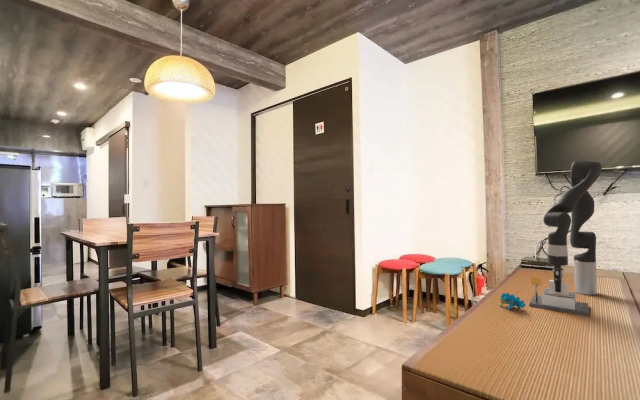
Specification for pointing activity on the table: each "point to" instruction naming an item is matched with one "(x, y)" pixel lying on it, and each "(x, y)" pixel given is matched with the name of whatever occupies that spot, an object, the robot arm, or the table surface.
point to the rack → (557, 301)
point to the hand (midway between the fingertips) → (558, 290)
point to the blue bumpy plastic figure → (511, 301)
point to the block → (563, 288)
